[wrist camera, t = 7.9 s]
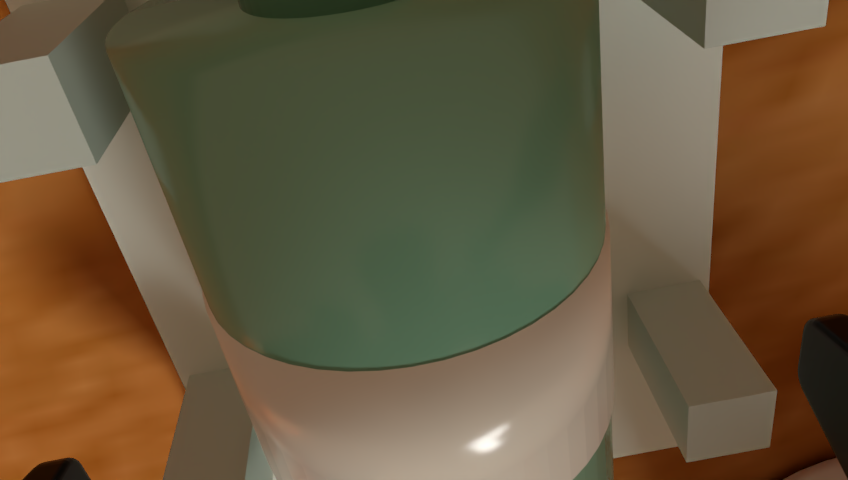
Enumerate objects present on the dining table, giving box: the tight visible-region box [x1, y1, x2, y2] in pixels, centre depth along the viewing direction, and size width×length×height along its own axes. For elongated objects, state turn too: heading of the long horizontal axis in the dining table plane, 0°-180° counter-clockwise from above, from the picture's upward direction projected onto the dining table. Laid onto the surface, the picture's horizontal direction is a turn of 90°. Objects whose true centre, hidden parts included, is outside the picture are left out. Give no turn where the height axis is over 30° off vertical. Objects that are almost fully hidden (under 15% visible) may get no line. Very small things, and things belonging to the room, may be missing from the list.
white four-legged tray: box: [0, 0, 829, 480], centre depth 12 cm, size 16×11×4 cm
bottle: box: [105, 0, 614, 480], centre depth 10 cm, size 14×6×6 cm, turn 9°
